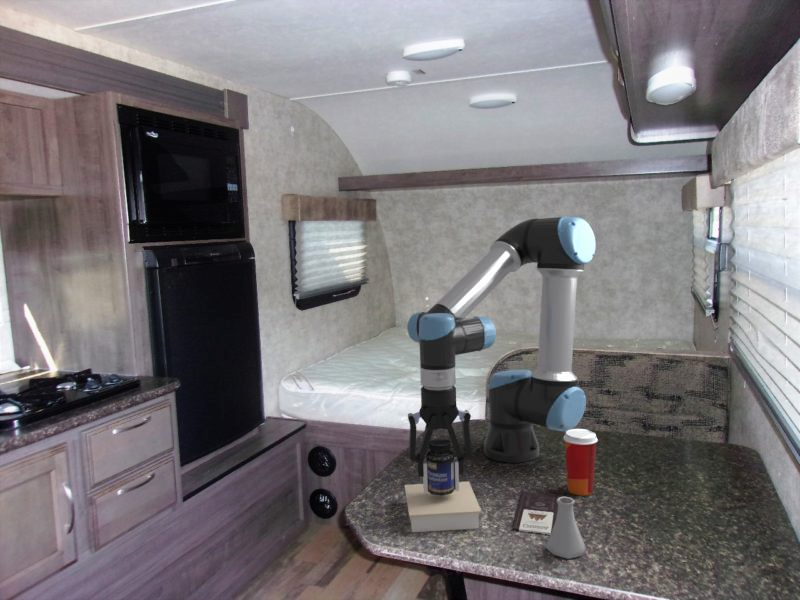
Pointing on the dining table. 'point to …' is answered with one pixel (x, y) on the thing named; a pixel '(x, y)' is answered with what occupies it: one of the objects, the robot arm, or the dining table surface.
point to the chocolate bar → (536, 513)
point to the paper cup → (580, 460)
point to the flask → (565, 532)
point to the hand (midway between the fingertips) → (440, 489)
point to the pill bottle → (440, 467)
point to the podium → (442, 509)
